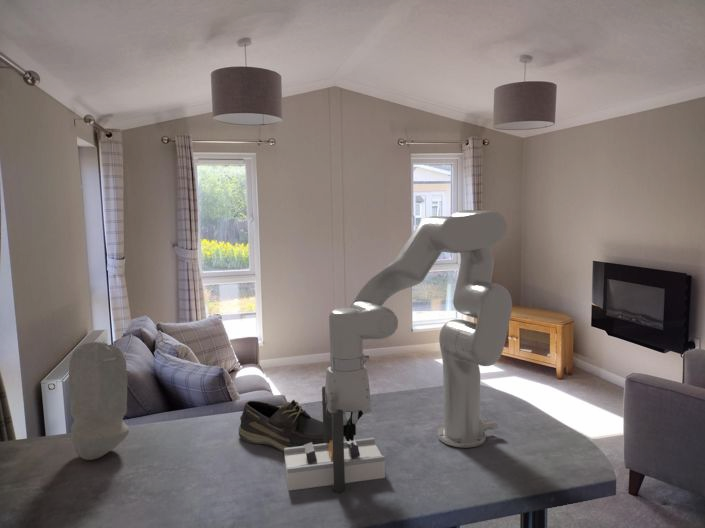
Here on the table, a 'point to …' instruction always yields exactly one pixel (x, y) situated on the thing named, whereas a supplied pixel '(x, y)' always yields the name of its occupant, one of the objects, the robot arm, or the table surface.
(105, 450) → the sculpture
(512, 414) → the table surface
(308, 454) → the grey block
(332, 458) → the rectangular block
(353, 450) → the grey block
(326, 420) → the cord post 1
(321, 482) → the breaker panel
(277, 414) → the boat shoe
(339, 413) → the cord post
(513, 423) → the table surface
